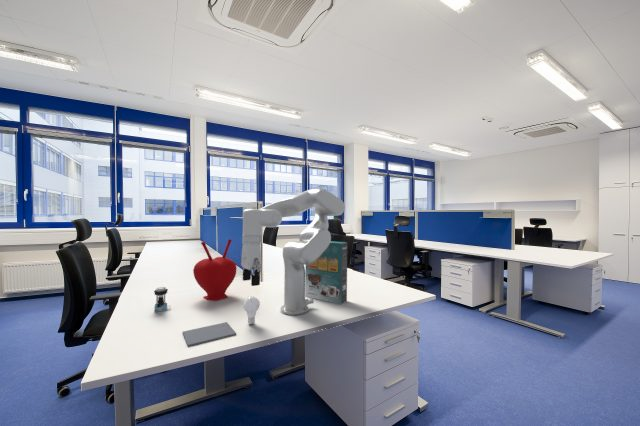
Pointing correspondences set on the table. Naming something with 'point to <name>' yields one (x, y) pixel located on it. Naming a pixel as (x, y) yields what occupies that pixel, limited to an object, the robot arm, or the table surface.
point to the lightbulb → (251, 308)
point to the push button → (160, 299)
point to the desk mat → (208, 333)
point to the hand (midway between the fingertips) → (250, 282)
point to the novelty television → (215, 274)
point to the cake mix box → (328, 275)
